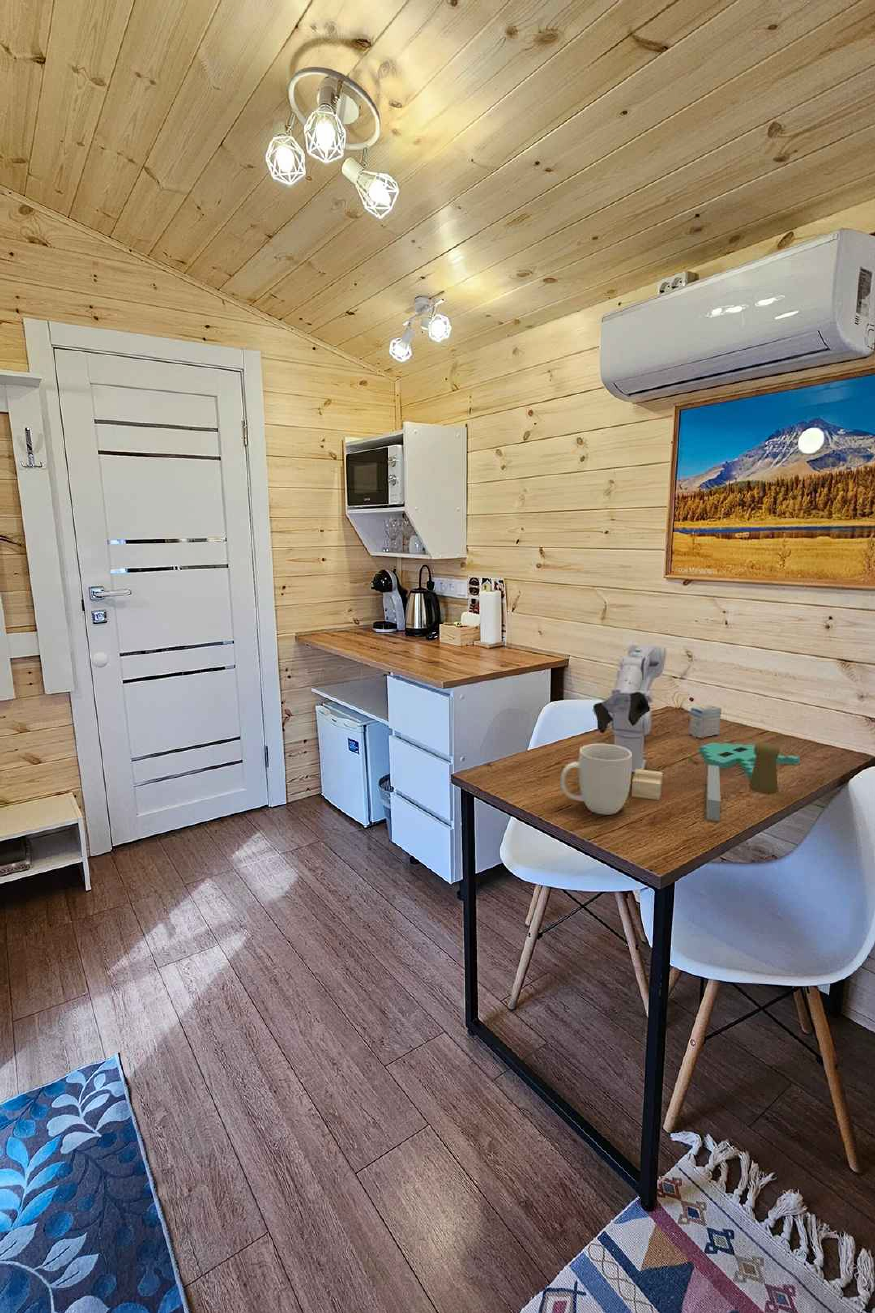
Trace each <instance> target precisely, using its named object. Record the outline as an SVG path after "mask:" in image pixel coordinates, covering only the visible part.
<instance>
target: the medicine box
mask: <svg viewBox="0 0 875 1313" xmlns="http://www.w3.org/2000/svg"><path fill="white" fill-rule="evenodd" d="M690 708H691V709H690V719H689V732H688V735H689V734H691V735H693V736H698V737H704V736H711V735H715V734H718V733H719V734H720V729H721V728H720V727H721V716H722V708H721V707H718V706H715V705H711V704H707V705H701V706H699V705H698V706H695V707H690ZM693 736H692V737H693Z"/></svg>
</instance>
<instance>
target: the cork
mask: <svg viewBox="0 0 875 1313" xmlns="http://www.w3.org/2000/svg"><path fill="white" fill-rule="evenodd" d="M754 745H755V748H754V753H755V755H756V759H755V764H754V768H753V772H752V776H751V779H750V781H749V784H748V785H749V786H748V788H749V789H750V790H752V791H754V792H756V793H760V792H761V793H760V794H767V793H768V794H769V795H770V793H773V794H776V793H778V792H779V789H778V788H779V786H778V772H777V768H778V767H777V764H776V758H777V757H778V756H779V755H780V748H779V747H778V745H777V744H775V743H771V742H765V741H763V742H758V743H756V744H754Z"/></svg>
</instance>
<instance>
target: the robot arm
mask: <svg viewBox="0 0 875 1313" xmlns="http://www.w3.org/2000/svg"><path fill="white" fill-rule="evenodd" d="M666 650H667V649H666V647H665V646H664V645H660V646H659V645H644V644H643V645H641V644H634V643H631V644H630V645H629V647H628V651H627V656H623V658H621V657H620V658H619V661H618V667H617V672H616V673H617V677H616V680H615V685H614V687H613V688H611V694H610V695H609V696H608V697H606V698H605V699H604V700H602V701H601V702H597V703H595V704H593V708H592V712H593V715H595V717H596V722H597V723H596V724H597V729H598V730H599V732H600V734H604V733H606V731H607V728H608V727H609V729H610V731H612V732H613V733H612V734H613V735H614V741H613V742H614V743H613V745H617V746H621V747H624V748H626V749H628V750H629V751H630V752H631V753H632V768H631V770H632V771H631V773H635V771H636V769H641V770H645V767H646V763H647V760H646V759H644V740H645V735H648V734H649V733H650V731H651V726H652V712H653V711H652V707H651V706H650V705H649V703H653V702H654V698H655V697H654V695H653V693H652V691H651V690H650V689H651V687H652V684H653V682H654V679H656V678H659V677H661V676H662V674H663V673H664V672H663V671H664V668H665V663H666V657H667V656H666V654H667V652H666Z"/></svg>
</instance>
